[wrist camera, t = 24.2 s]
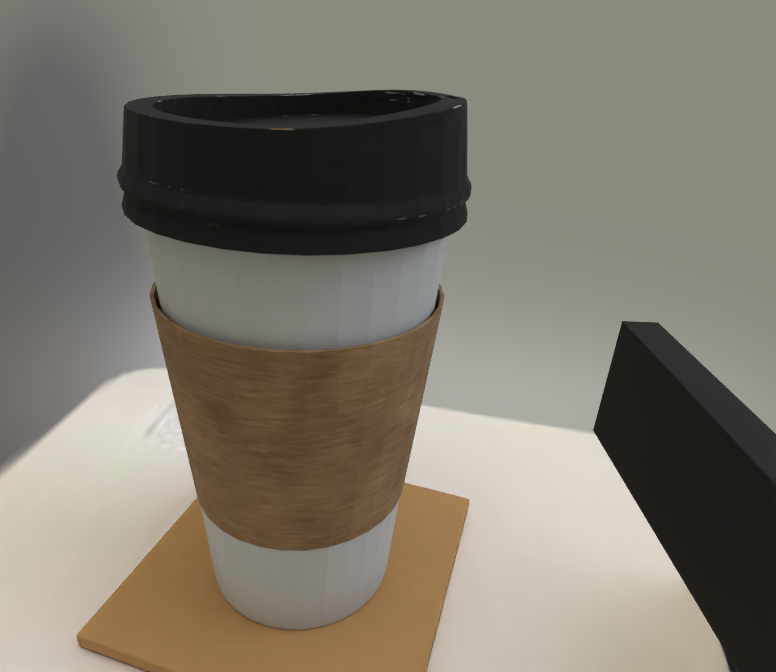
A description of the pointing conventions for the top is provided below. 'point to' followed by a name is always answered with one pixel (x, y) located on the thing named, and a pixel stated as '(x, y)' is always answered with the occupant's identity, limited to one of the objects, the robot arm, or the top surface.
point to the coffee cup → (297, 320)
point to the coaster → (274, 645)
